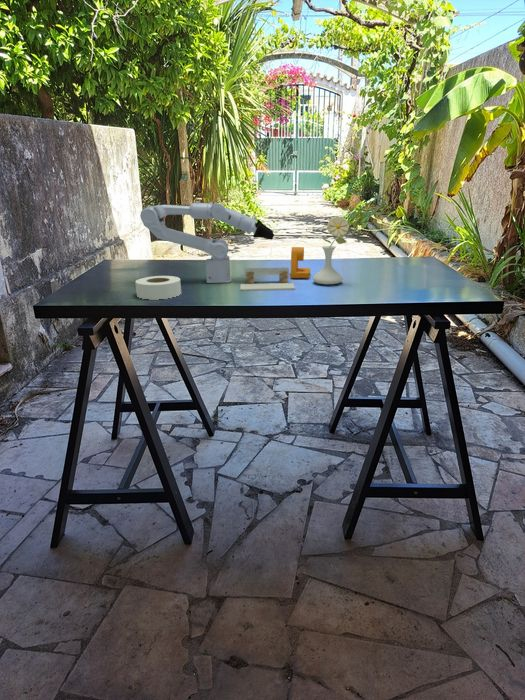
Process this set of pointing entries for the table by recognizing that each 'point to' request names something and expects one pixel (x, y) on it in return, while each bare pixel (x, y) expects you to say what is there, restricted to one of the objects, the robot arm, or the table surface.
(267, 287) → the mat
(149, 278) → the roll of tape
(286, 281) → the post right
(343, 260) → the table surface
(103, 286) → the table surface
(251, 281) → the post left
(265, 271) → the rail
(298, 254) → the bracket
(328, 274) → the flower in vase
